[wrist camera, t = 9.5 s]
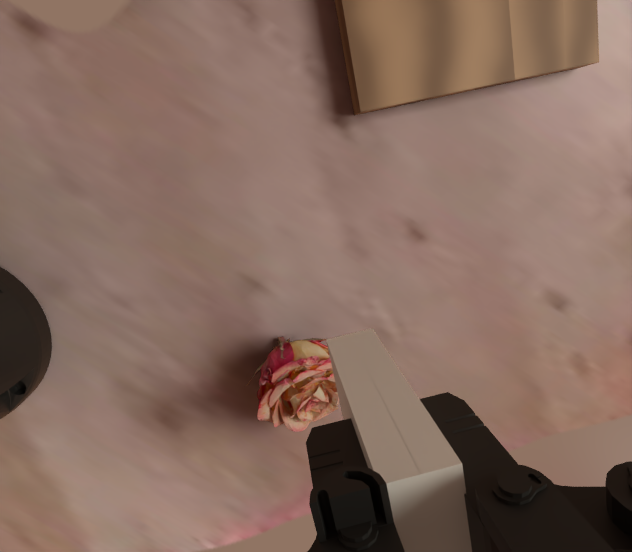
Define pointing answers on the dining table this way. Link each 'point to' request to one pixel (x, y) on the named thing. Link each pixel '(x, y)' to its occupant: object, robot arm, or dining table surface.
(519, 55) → the board
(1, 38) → the dining table surface
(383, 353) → the robot arm
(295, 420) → the flower
